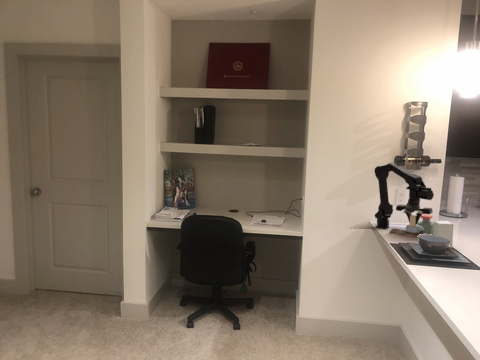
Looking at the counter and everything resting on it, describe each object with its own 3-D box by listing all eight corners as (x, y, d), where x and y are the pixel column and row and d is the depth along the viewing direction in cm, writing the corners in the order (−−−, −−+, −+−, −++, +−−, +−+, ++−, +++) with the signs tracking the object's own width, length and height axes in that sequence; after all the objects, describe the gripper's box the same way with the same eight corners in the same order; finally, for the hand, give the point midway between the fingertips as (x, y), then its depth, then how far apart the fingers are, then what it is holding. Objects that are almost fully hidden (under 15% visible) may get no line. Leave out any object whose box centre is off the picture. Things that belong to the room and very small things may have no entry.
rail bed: (389, 233, 223) (389, 226, 223) (393, 230, 228) (394, 224, 228) (420, 238, 211) (421, 231, 210) (424, 235, 216) (425, 229, 215)
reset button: (420, 226, 223) (420, 216, 222) (423, 224, 226) (423, 214, 225) (429, 227, 219) (429, 217, 218) (432, 225, 223) (432, 215, 222)
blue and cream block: (405, 231, 216) (406, 216, 215) (409, 228, 221) (410, 214, 220) (416, 232, 212) (416, 217, 211) (420, 230, 217) (421, 215, 216)
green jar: (416, 232, 223) (417, 222, 222) (420, 230, 228) (421, 220, 228) (431, 234, 218) (431, 224, 217) (434, 232, 223) (435, 222, 222)
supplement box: (452, 247, 193) (453, 224, 191) (437, 247, 194) (438, 223, 193) (447, 243, 200) (448, 220, 198) (433, 243, 201) (434, 220, 200)
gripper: (392, 197, 215) (391, 223, 217) (427, 201, 202) (425, 229, 204) (399, 195, 223) (399, 220, 225) (433, 198, 210) (432, 225, 212)
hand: (413, 223), depth 216 cm, fingers closed on blue and cream block, 3 cm apart
